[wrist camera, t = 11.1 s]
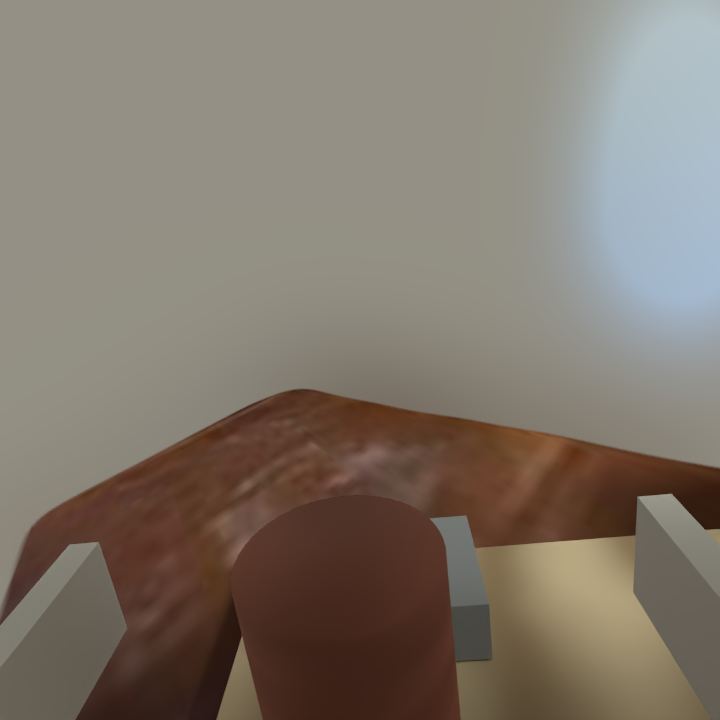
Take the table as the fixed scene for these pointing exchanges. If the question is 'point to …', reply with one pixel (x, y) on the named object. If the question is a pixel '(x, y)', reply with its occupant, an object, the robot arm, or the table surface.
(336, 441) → the table surface
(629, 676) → the board
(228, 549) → the table surface
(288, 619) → the awl
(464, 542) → the block
